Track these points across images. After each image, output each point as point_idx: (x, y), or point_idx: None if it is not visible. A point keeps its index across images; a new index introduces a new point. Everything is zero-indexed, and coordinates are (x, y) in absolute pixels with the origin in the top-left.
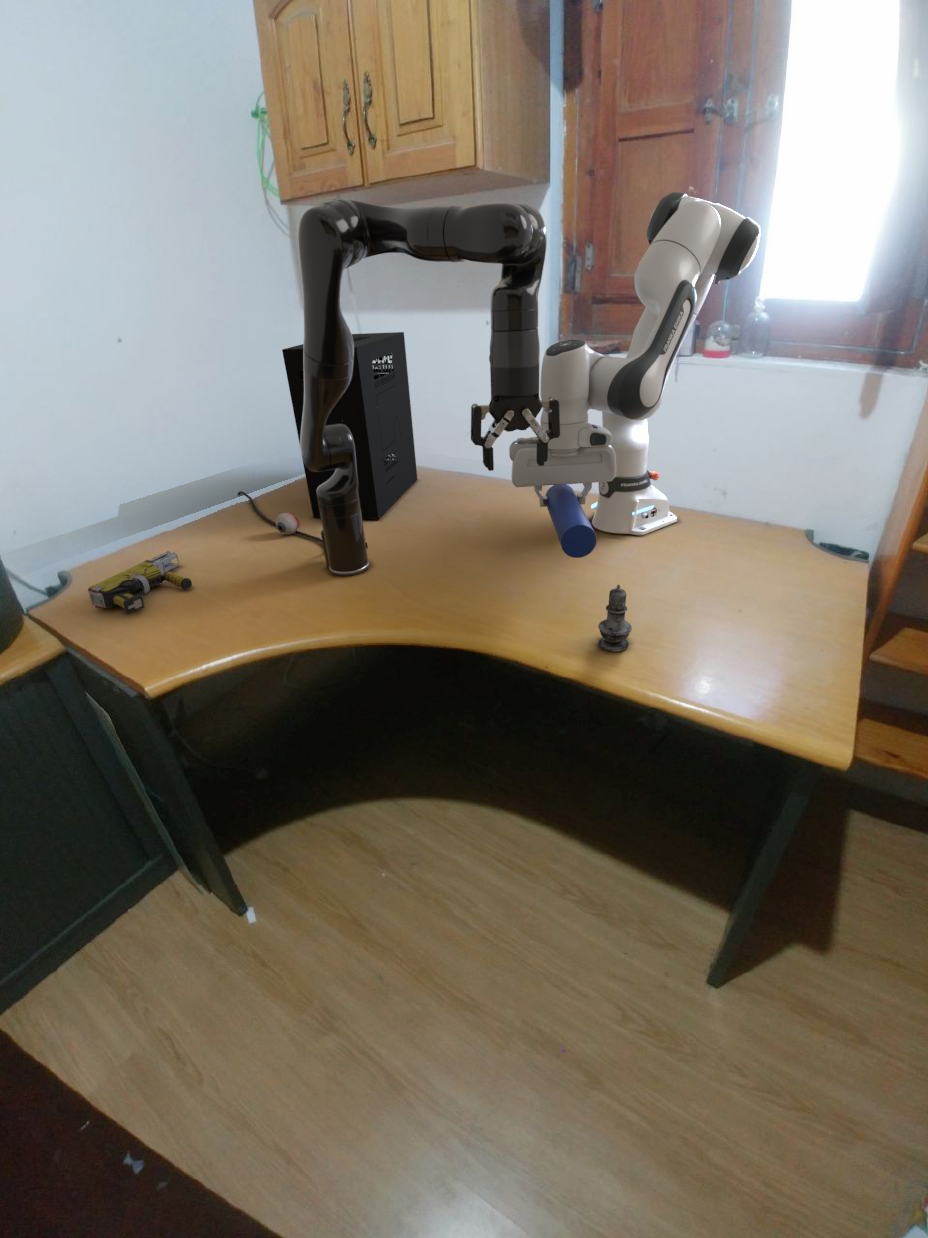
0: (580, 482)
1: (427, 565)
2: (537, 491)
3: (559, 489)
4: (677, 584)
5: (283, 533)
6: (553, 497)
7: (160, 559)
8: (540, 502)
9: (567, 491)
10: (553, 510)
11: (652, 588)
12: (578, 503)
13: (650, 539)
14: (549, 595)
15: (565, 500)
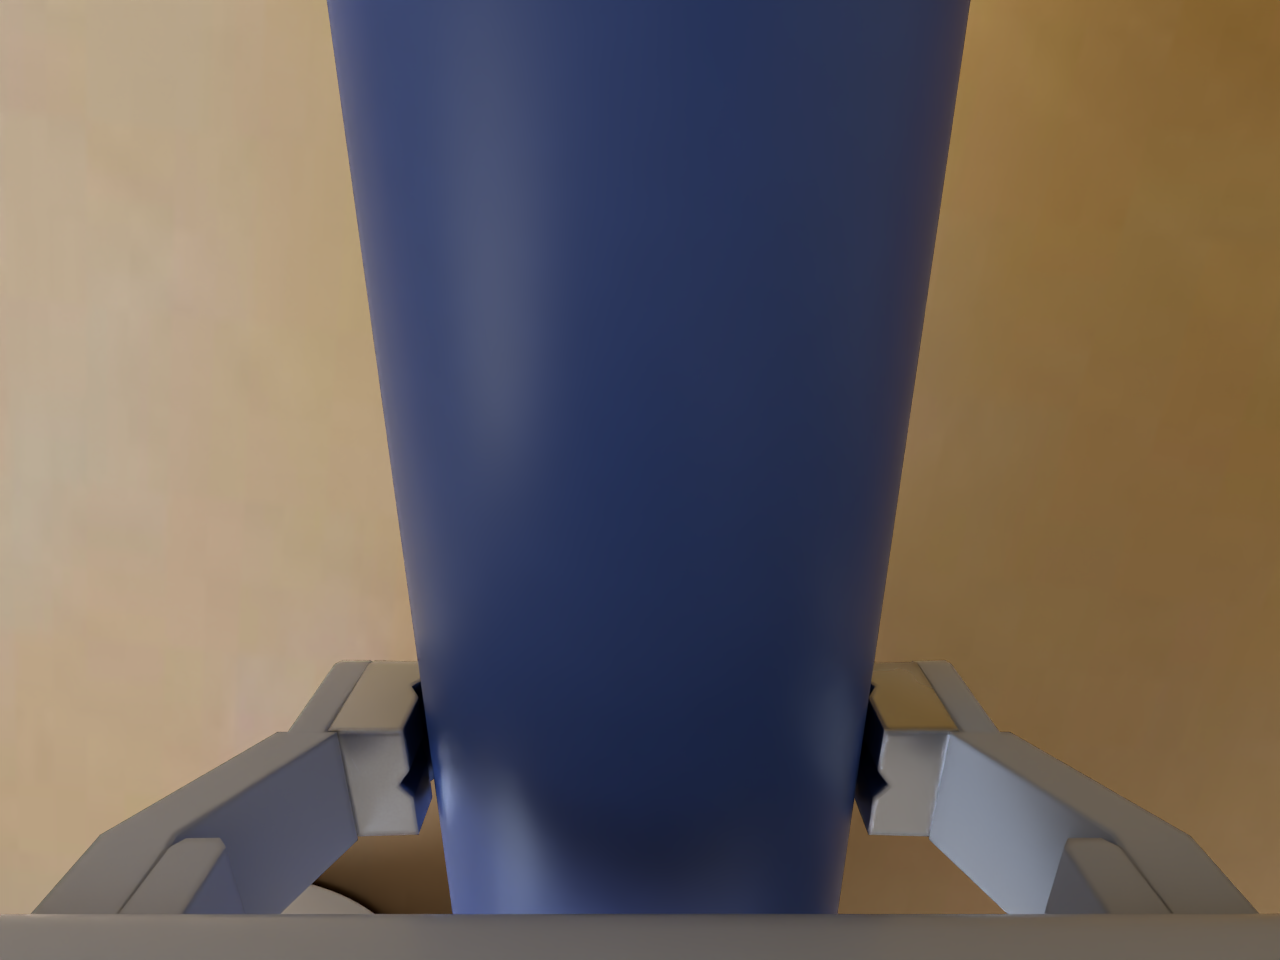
0: (240, 922)
1: (1268, 687)
2: (1138, 830)
3: (707, 865)
4: (24, 351)
5: None
6: (847, 645)
7: None
8: (972, 694)
9: (575, 756)
10: (948, 139)
11: (157, 318)
12: (403, 176)
13: None
14: None
15: (714, 186)
